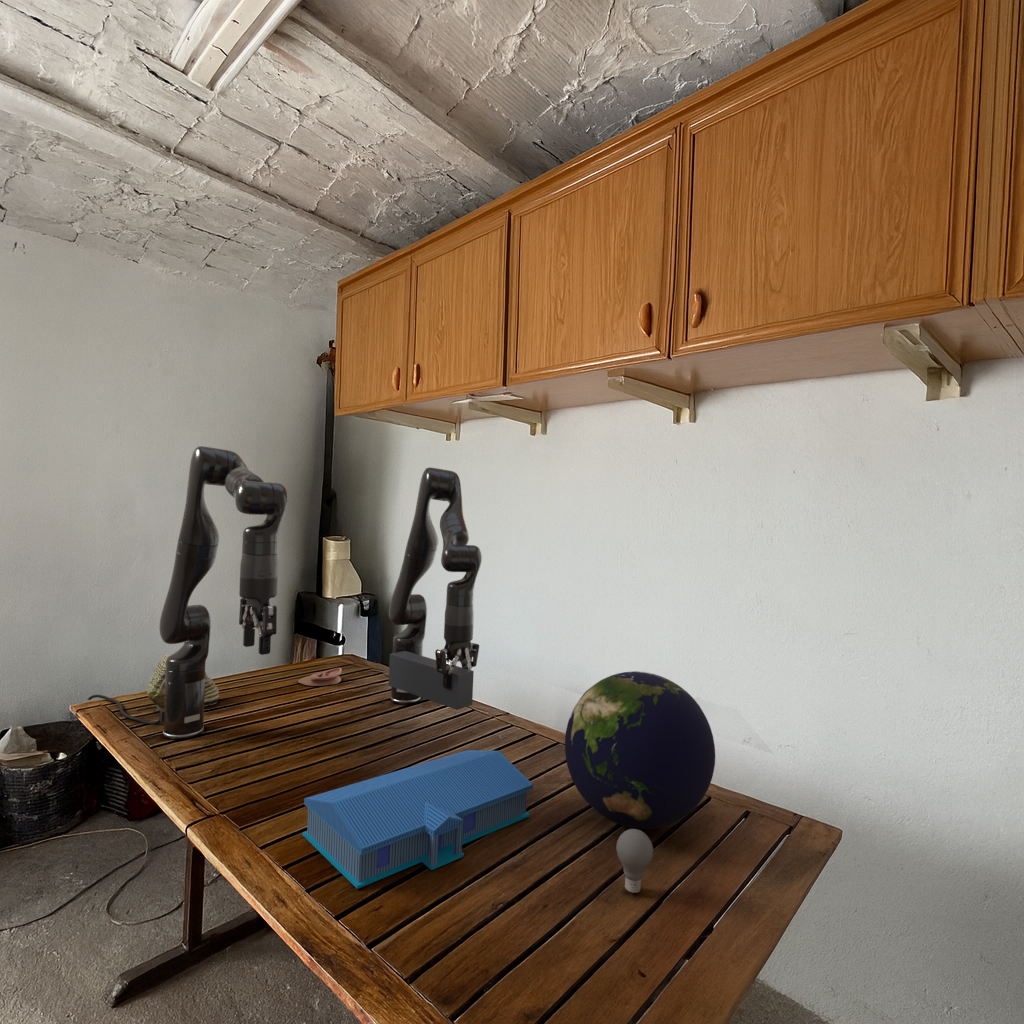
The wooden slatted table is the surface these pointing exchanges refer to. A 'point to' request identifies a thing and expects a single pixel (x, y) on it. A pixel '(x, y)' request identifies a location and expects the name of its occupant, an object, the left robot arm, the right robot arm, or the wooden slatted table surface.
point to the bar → (430, 680)
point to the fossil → (158, 687)
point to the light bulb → (634, 857)
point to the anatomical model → (322, 678)
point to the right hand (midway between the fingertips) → (456, 686)
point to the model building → (416, 814)
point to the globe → (640, 750)
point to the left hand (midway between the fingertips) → (256, 650)
